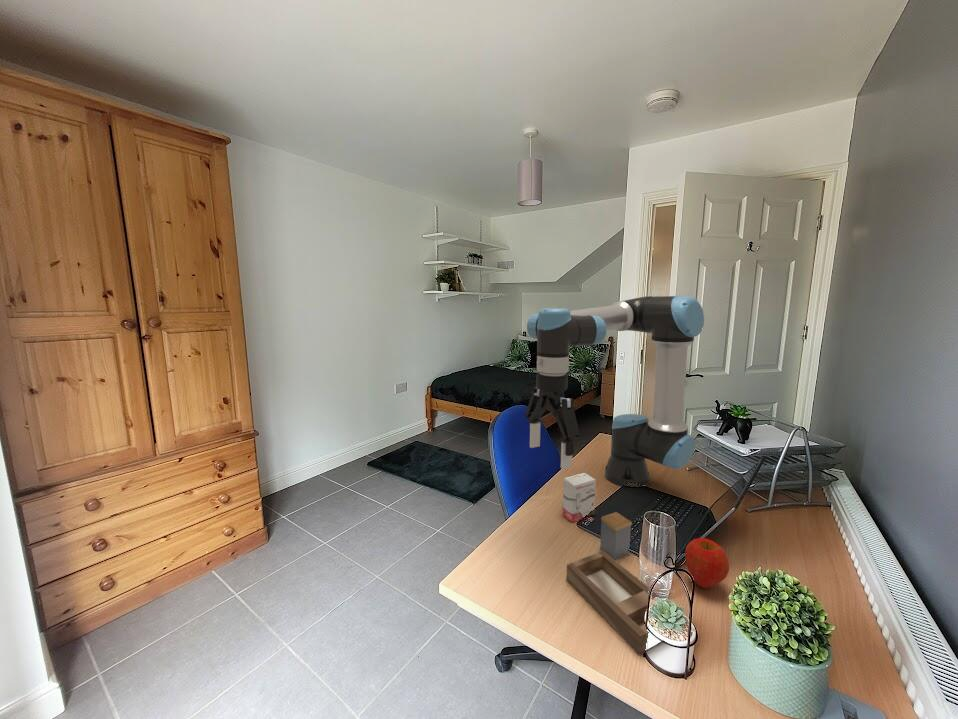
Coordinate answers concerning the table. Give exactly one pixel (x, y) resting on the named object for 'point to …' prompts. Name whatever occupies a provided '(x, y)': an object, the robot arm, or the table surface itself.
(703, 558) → the apple
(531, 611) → the table surface
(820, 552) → the table surface
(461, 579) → the table surface
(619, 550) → the square bit
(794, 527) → the table surface
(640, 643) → the block
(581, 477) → the ink box
